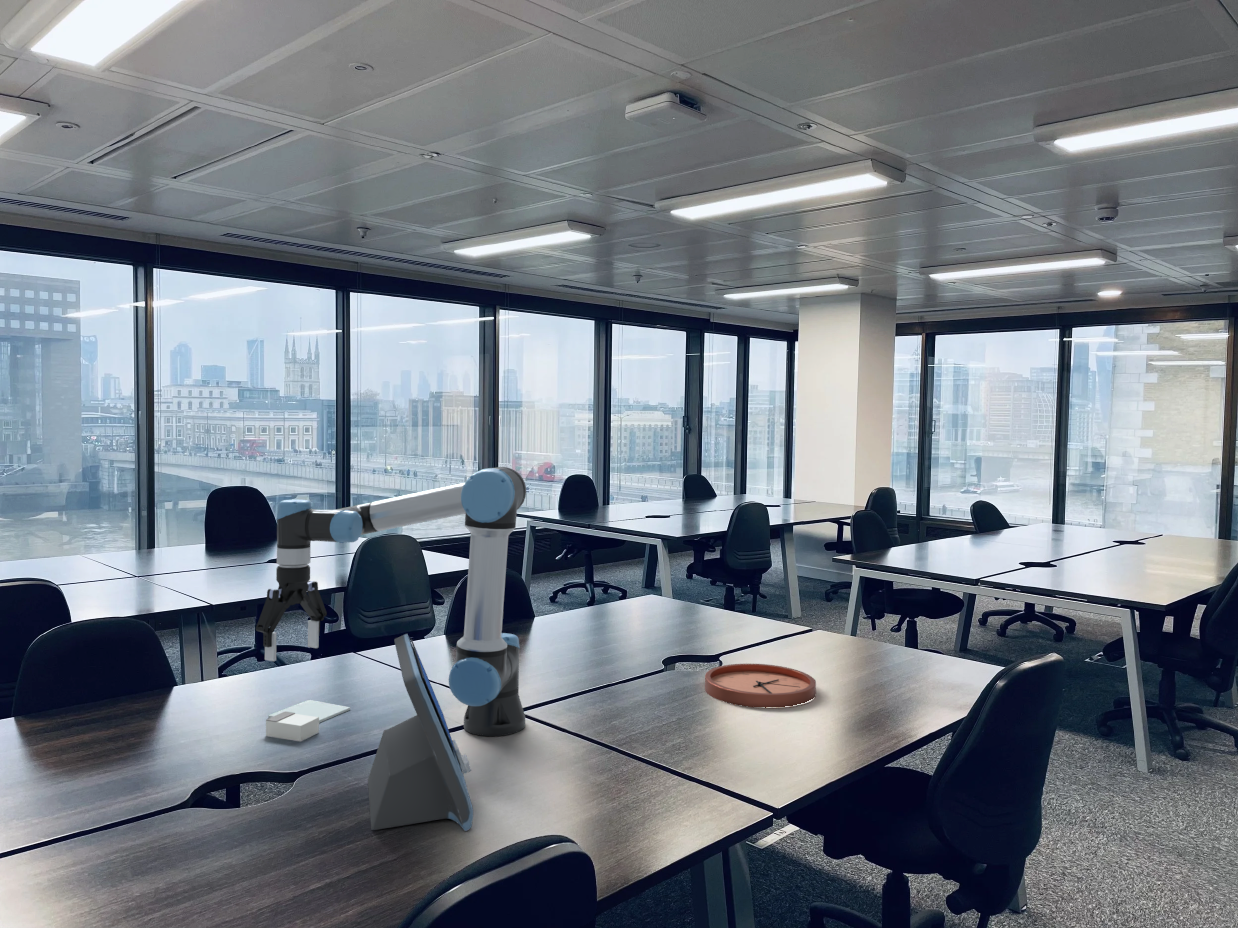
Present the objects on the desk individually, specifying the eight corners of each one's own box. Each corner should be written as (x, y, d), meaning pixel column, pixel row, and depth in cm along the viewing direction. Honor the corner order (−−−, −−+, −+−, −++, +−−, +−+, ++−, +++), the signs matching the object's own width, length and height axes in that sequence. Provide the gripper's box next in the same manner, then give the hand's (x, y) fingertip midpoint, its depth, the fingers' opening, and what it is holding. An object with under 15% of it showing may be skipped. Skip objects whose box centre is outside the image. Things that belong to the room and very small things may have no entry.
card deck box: (319, 733, 208) (319, 716, 207) (300, 742, 201) (300, 724, 201) (284, 728, 211) (284, 711, 211) (265, 736, 205) (266, 719, 205)
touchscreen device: (482, 830, 158) (478, 669, 157) (372, 847, 153) (366, 680, 151) (458, 760, 192) (455, 626, 190) (367, 772, 186) (362, 634, 184)
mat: (350, 709, 225) (350, 707, 225) (311, 725, 212) (311, 723, 212) (308, 701, 230) (308, 699, 230) (268, 717, 217) (268, 715, 217)
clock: (717, 659, 267) (821, 669, 257) (717, 671, 267) (820, 683, 257) (693, 687, 238) (809, 700, 227) (693, 701, 238) (808, 715, 228)
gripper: (318, 557, 218) (317, 640, 218) (239, 570, 195) (238, 663, 196) (342, 559, 215) (341, 643, 215) (264, 573, 192) (263, 668, 193)
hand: (292, 653), depth 206 cm, fingers open, 13 cm apart
